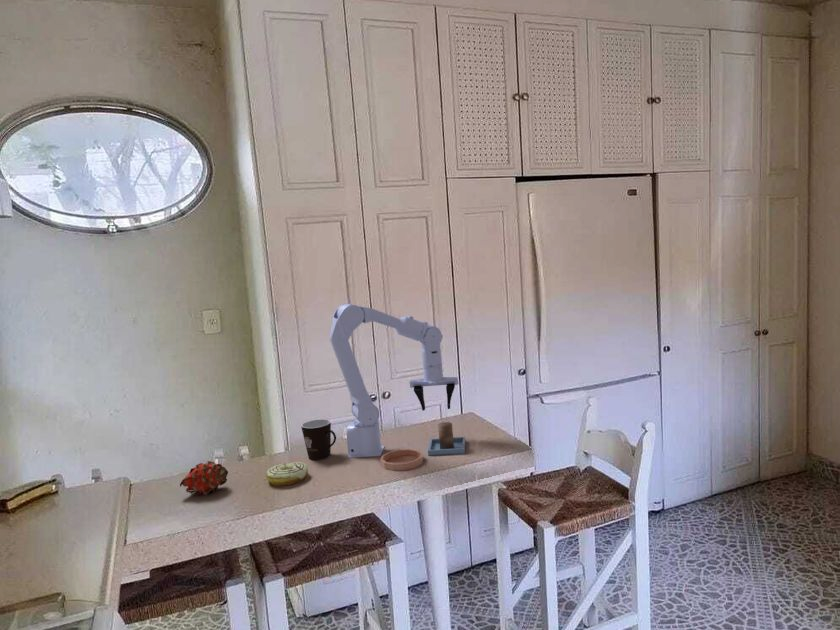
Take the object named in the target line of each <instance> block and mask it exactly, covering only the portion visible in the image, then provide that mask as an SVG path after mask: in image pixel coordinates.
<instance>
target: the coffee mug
mask: <svg viewBox="0 0 840 630" xmlns="http://www.w3.org/2000/svg"><path fill="white" fill-rule="evenodd" d="M331 424H332V421H331V420H330V419H325V418H320V419H319V418H318V419H317V418H316V419H312V420H308V421H307V420H306V422H303V423H301V424H300V426H301V431H302V435H303V436H302V437H303V439H304V445H305V448H306V452H307V457H308V459H309V461H323V460H326V459H328V458H329V457H331V455H332V454H331V452H332V451H331V448H332V447H333V445H335V443H336V442H337V441H336V440H337V436H336V433H335V432H334V431H333V430H332V425H331ZM331 434H332V435H333V440H332V442H331V439H332V438H331Z"/></svg>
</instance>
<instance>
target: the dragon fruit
mask: <svg viewBox="0 0 840 630" xmlns="http://www.w3.org/2000/svg"><path fill="white" fill-rule="evenodd" d="M228 474H229V471H228V470H227V468H226V467H224V466H223V465H222V464H221V463H215V462H213V461H211V460H207V461H206V463H201V462H200V463H197V464H196V465H195V467H192V468H191V469H190V470H189V473H188V474H186V475H185V477H184V478H183V479H182V480H181V482H180V483H179V486H180V488H181V487H182V486H183V487H184V488H185V487H187V488H185V491H186V493H189V494H195V492H196V493H197V494H203V495H205V496H207V494H209V493H210V492H216V491H218V490H219V486H223V485H224V484H227V481H228V478H227V477H228Z"/></svg>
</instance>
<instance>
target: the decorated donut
mask: <svg viewBox="0 0 840 630" xmlns="http://www.w3.org/2000/svg"><path fill="white" fill-rule="evenodd" d="M308 473H309V471H308V465H307V464H306V463H304V462H300V461H290V462H282V463H278V464H276V465H272V466H271V467H269V468H268V470H266V480H267V481H268V482H269V483H270V485H271V484H272V486H276V485H277V486H276V487H278V486H281V485H282V486H283V485H287V486H291V485H294V484H297V483H298V482H301V481H303V479H304V480H305V479H306V478H307V475H308ZM290 484H291V485H290Z"/></svg>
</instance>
